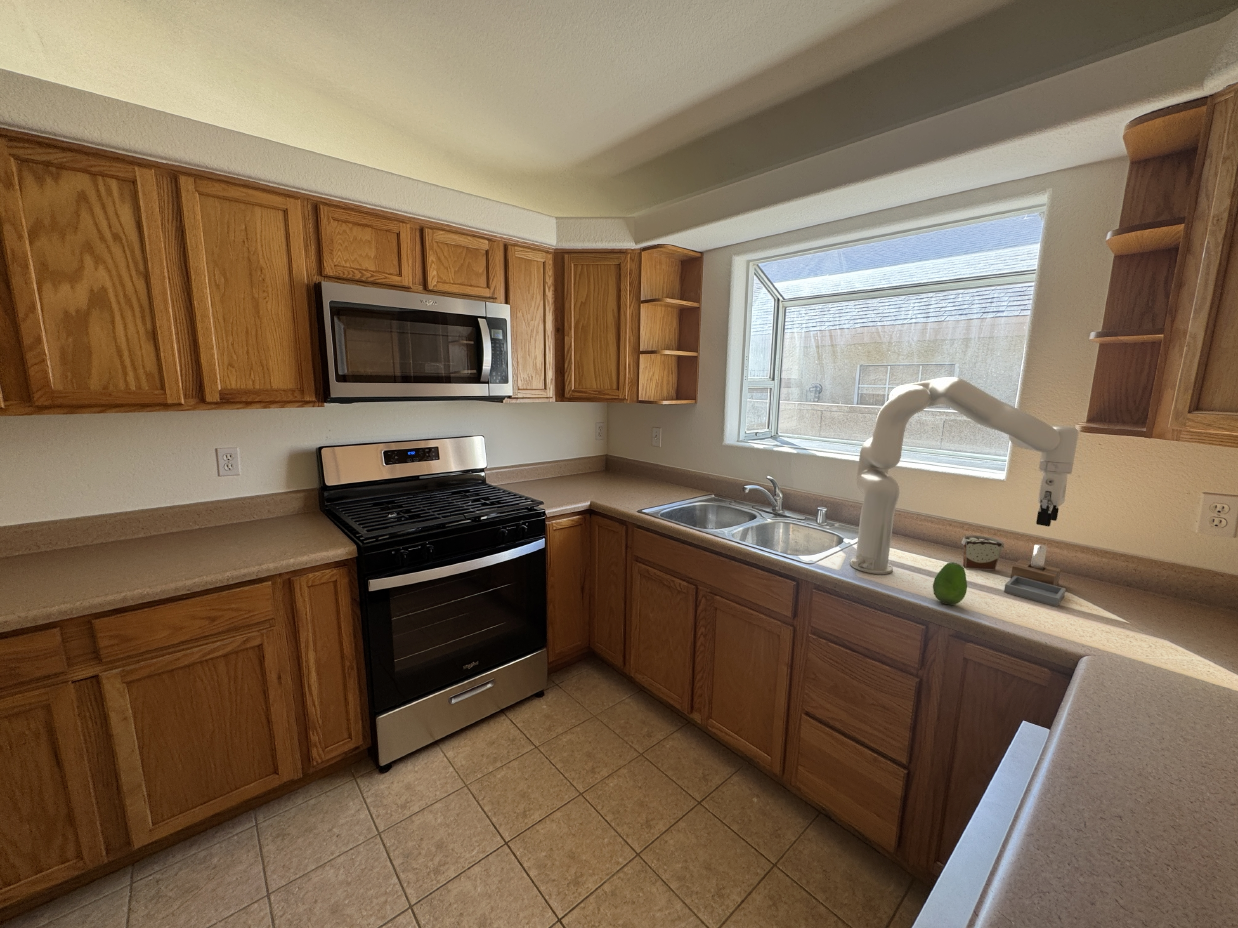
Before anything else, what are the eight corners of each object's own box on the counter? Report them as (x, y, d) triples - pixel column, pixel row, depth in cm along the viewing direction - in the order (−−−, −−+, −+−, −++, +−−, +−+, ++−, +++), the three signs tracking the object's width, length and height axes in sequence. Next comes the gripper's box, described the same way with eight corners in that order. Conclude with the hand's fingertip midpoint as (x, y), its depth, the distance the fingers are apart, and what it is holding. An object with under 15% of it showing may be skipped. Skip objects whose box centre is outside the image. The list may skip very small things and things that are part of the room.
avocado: (968, 611, 133) (974, 569, 131) (934, 606, 135) (940, 564, 133) (959, 599, 140) (965, 559, 138) (927, 594, 143) (933, 555, 141)
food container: (988, 563, 169) (992, 535, 168) (1000, 570, 163) (1005, 541, 162) (950, 561, 171) (954, 533, 169) (960, 568, 165) (965, 539, 163)
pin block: (1051, 592, 147) (1054, 576, 146) (1010, 581, 155) (1012, 565, 154) (1058, 583, 153) (1061, 568, 153) (1017, 573, 161) (1020, 559, 160)
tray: (1056, 606, 137) (1058, 598, 137) (1003, 592, 146) (1005, 584, 146) (1064, 596, 144) (1065, 588, 144) (1013, 582, 153) (1014, 575, 153)
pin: (1039, 585, 152) (1046, 548, 150) (1026, 582, 154) (1033, 545, 152) (1041, 582, 154) (1048, 546, 152) (1029, 579, 156) (1035, 543, 154)
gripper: (1066, 472, 139) (1057, 530, 142) (1077, 465, 150) (1068, 520, 153) (1032, 468, 145) (1024, 524, 148) (1045, 462, 156) (1037, 515, 159)
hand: (1046, 522), depth 151 cm, fingers open, 9 cm apart
